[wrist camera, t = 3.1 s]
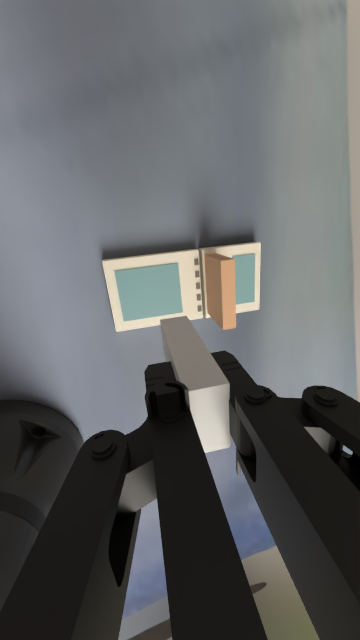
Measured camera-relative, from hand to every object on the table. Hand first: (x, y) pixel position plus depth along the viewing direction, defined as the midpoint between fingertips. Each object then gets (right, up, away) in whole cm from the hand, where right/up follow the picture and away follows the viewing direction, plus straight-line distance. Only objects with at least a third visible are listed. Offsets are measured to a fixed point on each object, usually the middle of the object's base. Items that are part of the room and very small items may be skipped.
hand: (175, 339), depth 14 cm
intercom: (+5, +5, +13) cm, 15 cm away
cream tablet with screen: (-2, +4, +12) cm, 13 cm away
